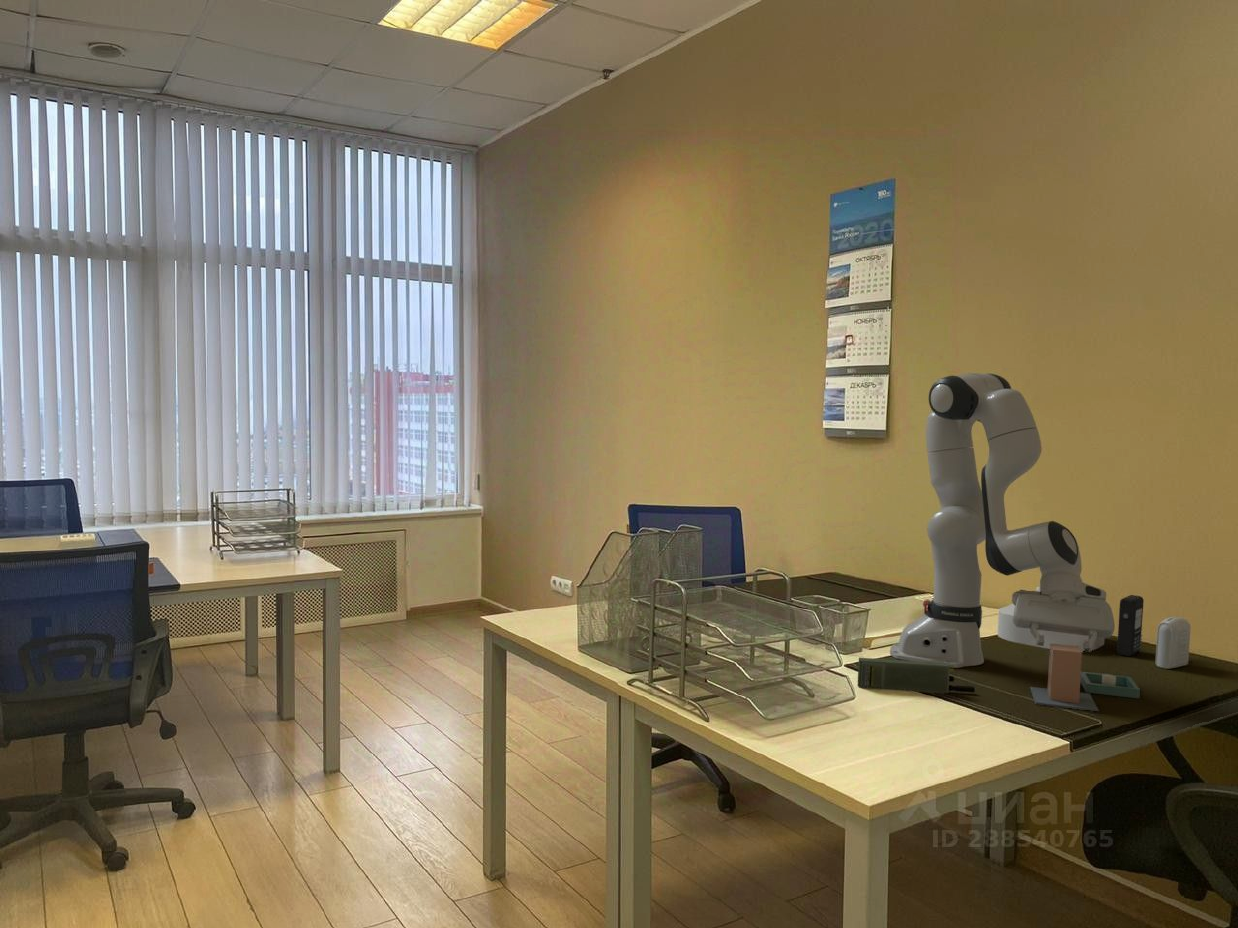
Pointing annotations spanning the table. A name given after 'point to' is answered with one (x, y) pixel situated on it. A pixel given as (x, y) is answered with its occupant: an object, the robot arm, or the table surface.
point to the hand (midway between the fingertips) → (1063, 647)
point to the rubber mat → (1043, 699)
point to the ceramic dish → (1109, 685)
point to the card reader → (1130, 625)
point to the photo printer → (1173, 643)
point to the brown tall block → (1064, 673)
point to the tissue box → (1024, 635)
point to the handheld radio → (907, 676)
